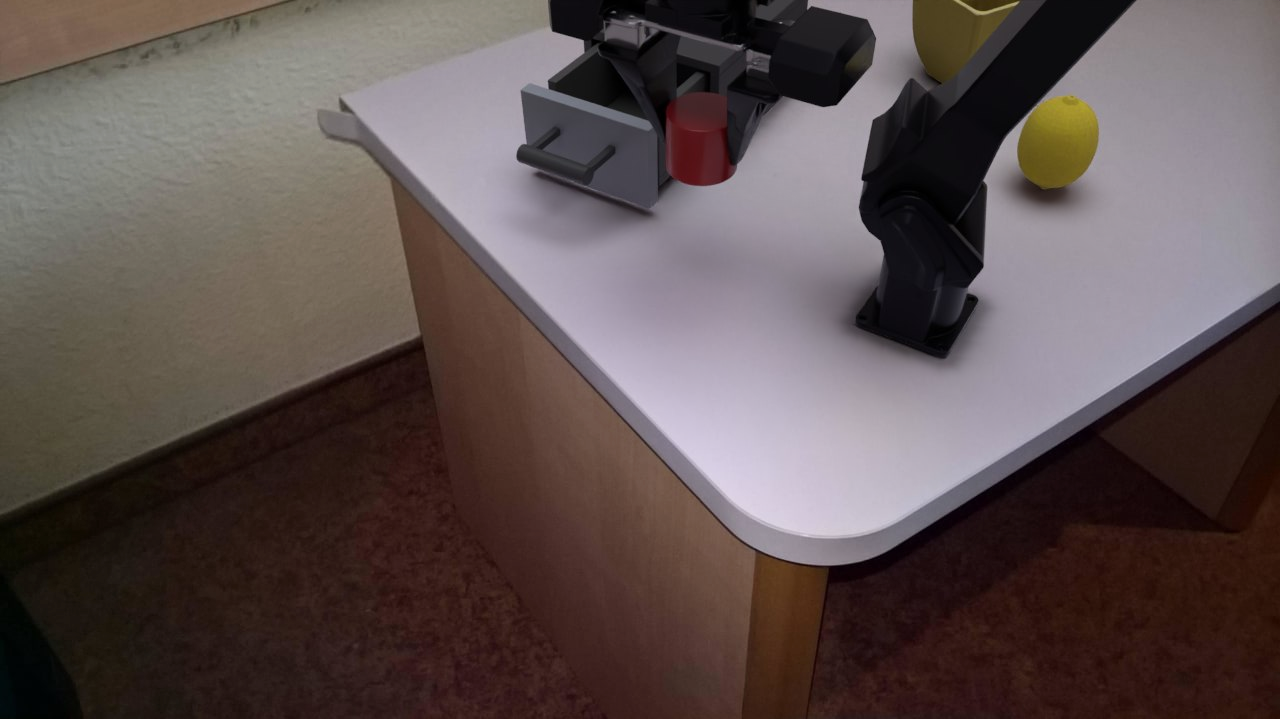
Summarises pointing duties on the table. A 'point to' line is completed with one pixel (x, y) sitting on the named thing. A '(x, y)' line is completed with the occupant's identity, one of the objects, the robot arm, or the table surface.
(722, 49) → the small drawer cabinet
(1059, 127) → the lemon
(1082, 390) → the table surface
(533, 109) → the pod drawer
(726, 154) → the cylinder
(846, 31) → the robot arm
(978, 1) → the flower pot
